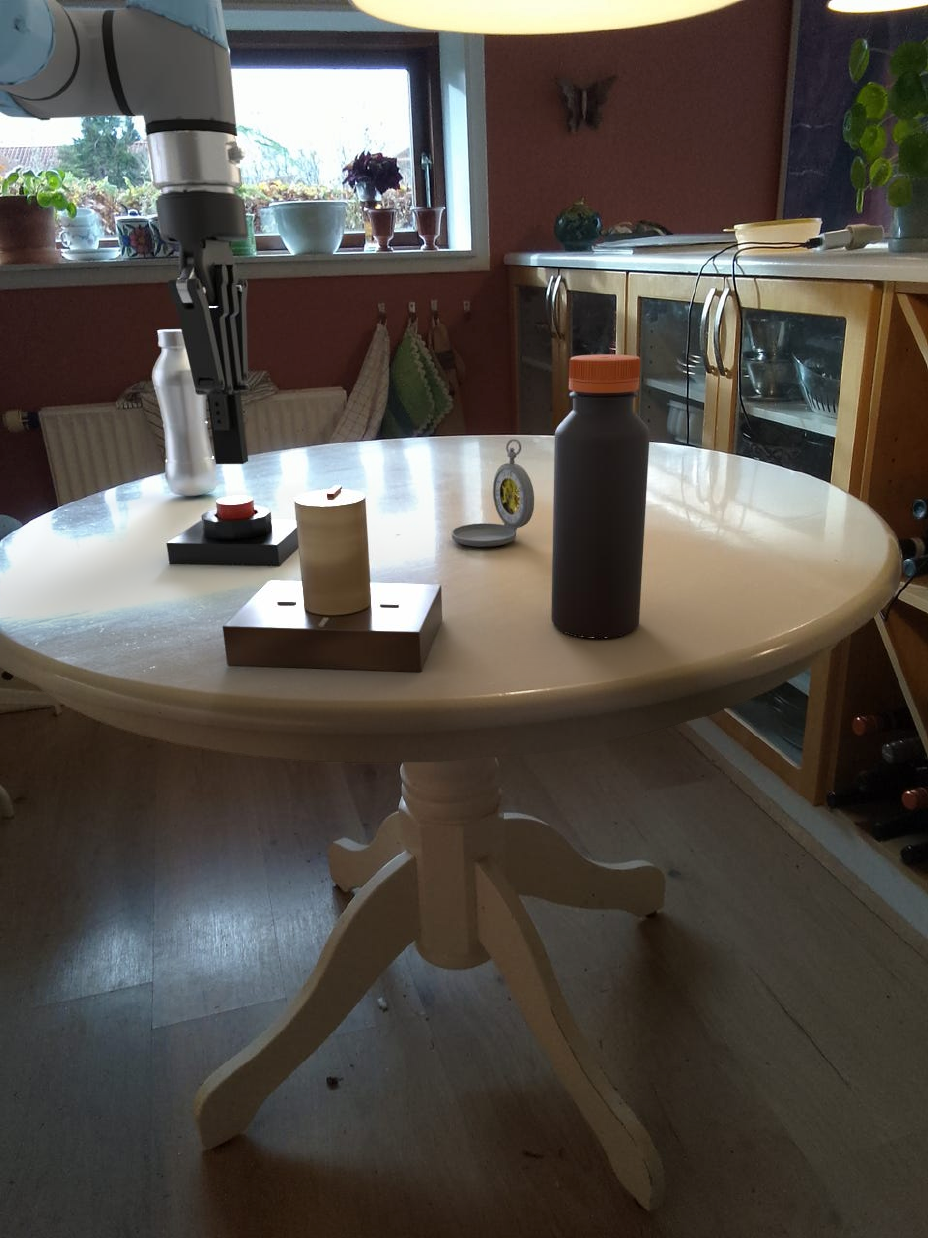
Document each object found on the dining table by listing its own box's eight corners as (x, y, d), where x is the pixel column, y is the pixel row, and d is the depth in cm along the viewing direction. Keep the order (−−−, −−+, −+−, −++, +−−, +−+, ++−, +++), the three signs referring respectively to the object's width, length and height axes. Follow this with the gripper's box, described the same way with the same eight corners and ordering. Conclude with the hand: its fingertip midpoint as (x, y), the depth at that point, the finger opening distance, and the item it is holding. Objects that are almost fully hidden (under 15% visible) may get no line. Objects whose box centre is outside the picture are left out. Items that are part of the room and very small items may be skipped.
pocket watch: (440, 545, 90) (437, 446, 86) (476, 525, 97) (474, 432, 93) (515, 555, 87) (515, 452, 83) (546, 533, 94) (547, 437, 90)
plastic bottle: (168, 503, 109) (144, 332, 102) (167, 491, 115) (144, 329, 108) (222, 498, 111) (202, 330, 104) (218, 487, 117) (199, 327, 110)
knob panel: (226, 665, 63) (221, 624, 62) (272, 615, 73) (268, 578, 71) (421, 672, 62) (419, 630, 60) (442, 620, 71) (441, 582, 70)
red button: (212, 521, 87) (209, 504, 86) (225, 512, 90) (223, 495, 89) (247, 522, 86) (245, 504, 86) (260, 512, 90) (258, 495, 89)
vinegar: (541, 634, 67) (545, 361, 60) (562, 605, 73) (568, 352, 66) (630, 645, 65) (646, 362, 58) (645, 613, 71) (661, 353, 64)
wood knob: (363, 616, 63) (356, 502, 60) (295, 614, 64) (284, 501, 61) (377, 592, 68) (371, 485, 65) (314, 591, 69) (305, 485, 66)
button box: (169, 564, 86) (163, 524, 84) (205, 538, 94) (201, 501, 93) (279, 567, 85) (275, 526, 83) (306, 540, 93) (303, 502, 91)
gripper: (211, 184, 71) (245, 477, 80) (265, 196, 83) (290, 449, 92) (123, 188, 72) (166, 477, 81) (189, 199, 84) (220, 450, 93)
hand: (232, 462), depth 86 cm, fingers closed
